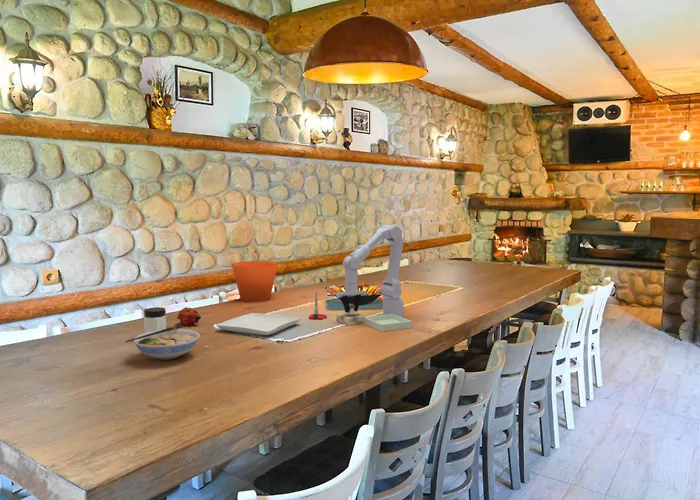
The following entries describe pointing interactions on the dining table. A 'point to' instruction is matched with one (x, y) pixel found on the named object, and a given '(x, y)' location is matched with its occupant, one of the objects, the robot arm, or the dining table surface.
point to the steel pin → (351, 310)
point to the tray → (387, 322)
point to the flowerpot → (255, 279)
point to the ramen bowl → (166, 342)
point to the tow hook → (316, 315)
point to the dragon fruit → (188, 316)
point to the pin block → (350, 318)
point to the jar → (154, 319)
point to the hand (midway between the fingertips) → (351, 311)
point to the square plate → (258, 323)
